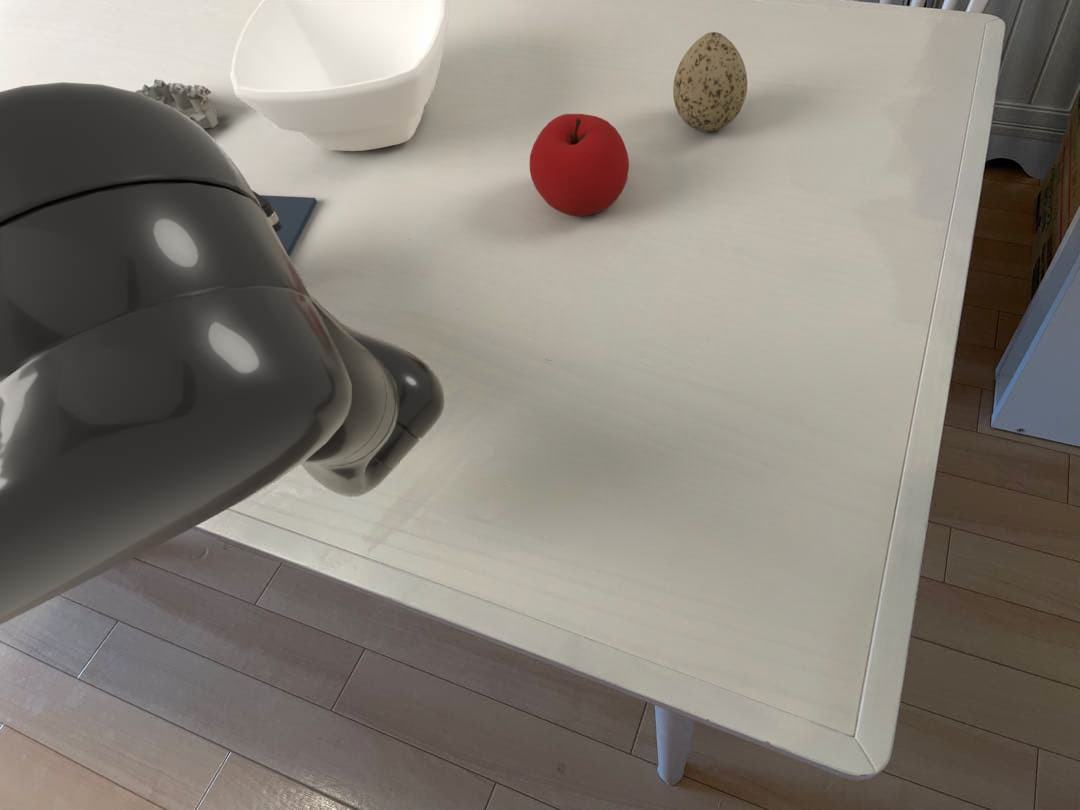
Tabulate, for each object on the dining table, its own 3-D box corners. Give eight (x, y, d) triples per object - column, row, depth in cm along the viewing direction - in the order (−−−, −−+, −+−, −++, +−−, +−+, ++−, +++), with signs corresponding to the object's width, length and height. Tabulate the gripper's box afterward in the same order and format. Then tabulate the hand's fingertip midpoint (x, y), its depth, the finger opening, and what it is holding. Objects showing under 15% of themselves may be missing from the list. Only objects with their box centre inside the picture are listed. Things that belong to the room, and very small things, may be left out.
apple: (634, 170, 79) (631, 80, 71) (624, 234, 74) (619, 146, 66) (544, 169, 81) (531, 82, 73) (529, 231, 76) (512, 146, 68)
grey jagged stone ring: (229, 118, 93) (213, 88, 90) (181, 156, 91) (163, 126, 87) (173, 94, 98) (156, 64, 94) (126, 129, 95) (106, 100, 91)
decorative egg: (742, 101, 83) (750, 9, 75) (745, 146, 79) (754, 54, 71) (672, 105, 84) (674, 15, 76) (672, 149, 80) (673, 59, 72)
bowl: (461, 181, 82) (434, 81, 72) (258, 197, 84) (206, 103, 75) (477, 56, 94) (456, -44, 84) (300, 74, 97) (260, -21, 87)
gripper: (304, 211, 60) (202, 128, 68) (138, 323, 56) (50, 219, 64) (338, 279, 66) (241, 195, 74) (191, 384, 62) (105, 283, 70)
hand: (153, 207), depth 69 cm, fingers closed on cup, 7 cm apart
